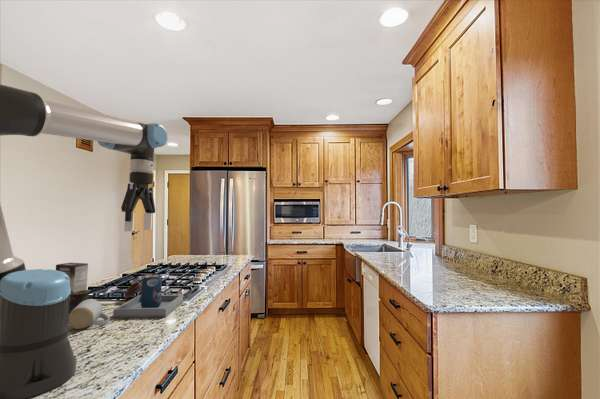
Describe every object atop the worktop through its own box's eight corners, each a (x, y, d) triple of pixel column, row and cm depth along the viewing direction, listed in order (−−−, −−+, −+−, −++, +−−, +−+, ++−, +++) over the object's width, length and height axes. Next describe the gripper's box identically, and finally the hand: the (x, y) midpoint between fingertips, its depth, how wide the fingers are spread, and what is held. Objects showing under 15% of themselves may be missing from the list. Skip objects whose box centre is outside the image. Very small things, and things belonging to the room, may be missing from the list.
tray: (165, 317, 103) (165, 308, 103) (113, 318, 102) (113, 309, 102) (183, 301, 121) (183, 294, 121) (138, 302, 120) (138, 295, 120)
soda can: (157, 309, 109) (158, 277, 109) (137, 310, 108) (138, 277, 108) (163, 304, 116) (164, 273, 116) (144, 305, 115) (145, 274, 115)
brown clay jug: (149, 303, 122) (138, 287, 119) (128, 313, 121) (116, 297, 119) (158, 288, 133) (148, 273, 131) (138, 298, 133) (128, 283, 130)
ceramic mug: (65, 332, 90) (66, 306, 91) (76, 322, 98) (77, 299, 98) (104, 328, 94) (106, 304, 94) (112, 319, 101) (113, 297, 102)
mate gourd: (91, 314, 106) (91, 287, 106) (64, 319, 101) (65, 290, 102) (92, 309, 112) (92, 282, 112) (66, 313, 107) (67, 285, 108)
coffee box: (53, 305, 116) (54, 264, 117) (68, 300, 123) (69, 262, 123) (72, 306, 115) (74, 265, 116) (87, 301, 121) (88, 262, 122)
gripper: (135, 166, 95) (131, 232, 94) (165, 177, 120) (163, 229, 118) (111, 166, 95) (107, 231, 93) (146, 177, 120) (144, 229, 118)
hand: (138, 230), depth 106 cm, fingers open, 13 cm apart
